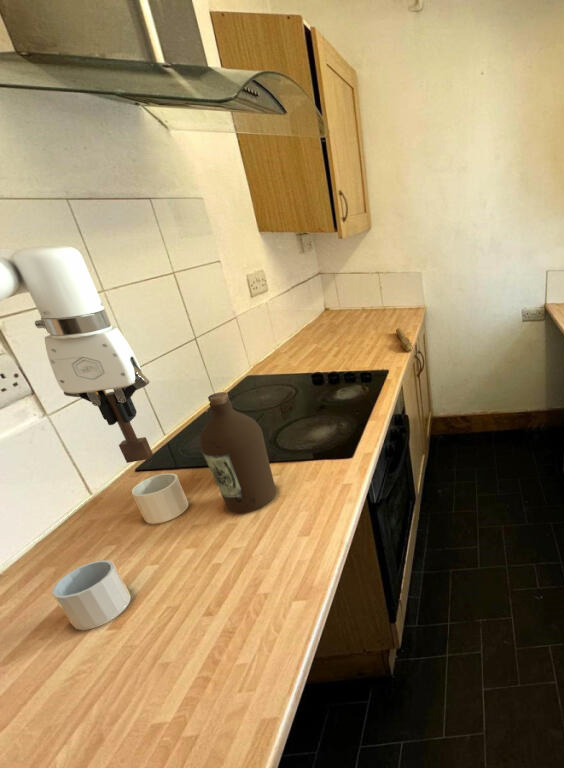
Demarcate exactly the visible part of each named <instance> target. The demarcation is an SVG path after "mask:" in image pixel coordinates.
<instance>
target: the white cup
mask: <svg viewBox="0 0 564 768" xmlns="http://www.w3.org/2000/svg"><path fill="white" fill-rule="evenodd" d="M131 495H132V497H133V499H134V501H135V503H136V505H137V508H138V509H139V512H140V514H141V516H142V518H143V520H144V521H145V522H146V523H147V524H151V525H152V524H153V525H156V524H162V523H166V522H168V521H171V520H173V519H175V518H177V517H178V516H181V515H182V514H183V513H184V512H185V511H186V510H187V509H188V508H189V500H188V499H187V495H186V493H185V491H184V488H183V486H182V483H181V482H180V479H179V477H178V475H177V474H176V473H171V472H170V473H167V472H166V473H161V474H160V473H159V474H156V475H153V476H151V477H148V478H146V479H143V480H141V481H140V482H138V483H137V484H136V485H135V486H134V487H133V488H132V489H131Z"/></svg>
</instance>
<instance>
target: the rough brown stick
mask: <svg viewBox="0 0 564 768" xmlns="http://www.w3.org/2000/svg"><path fill="white" fill-rule="evenodd" d="M395 333H396V335H397V336H398V338H399V339H400V343H401V347H402V349H403V350H404V351H406V352H411V351H412V350H413V347H412V342H411V340H410V339H409V337H406V335H405V333H404V331H403V329H402V328H400V327H399V328H398V327H397V328H396V330H395Z"/></svg>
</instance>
